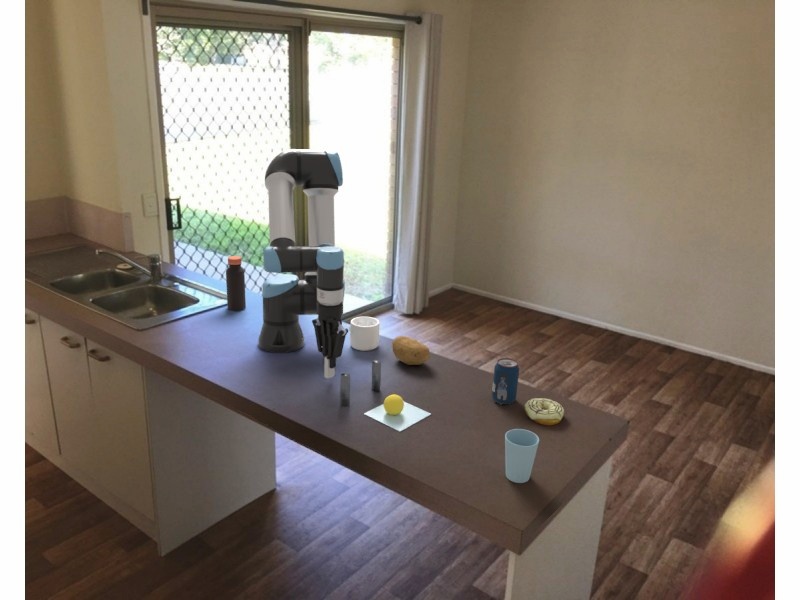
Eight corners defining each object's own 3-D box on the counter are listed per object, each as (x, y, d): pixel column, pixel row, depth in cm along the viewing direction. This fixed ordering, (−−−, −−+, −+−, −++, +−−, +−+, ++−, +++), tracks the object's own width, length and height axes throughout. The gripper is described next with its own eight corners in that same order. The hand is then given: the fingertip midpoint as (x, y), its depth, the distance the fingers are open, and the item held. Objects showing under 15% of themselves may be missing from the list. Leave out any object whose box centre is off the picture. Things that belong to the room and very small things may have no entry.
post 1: (338, 404, 181) (338, 375, 178) (344, 401, 183) (345, 372, 180) (344, 407, 180) (345, 378, 177) (351, 404, 182) (352, 375, 179)
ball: (397, 415, 173) (384, 419, 177) (411, 408, 177) (398, 413, 180) (389, 395, 173) (376, 400, 177) (403, 389, 177) (390, 394, 181)
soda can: (511, 394, 192) (515, 356, 188) (519, 405, 185) (523, 366, 181) (488, 395, 191) (492, 357, 187) (495, 406, 184) (499, 367, 180)
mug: (364, 336, 229) (365, 312, 226) (388, 344, 224) (389, 319, 221) (342, 346, 220) (343, 321, 217) (366, 354, 214) (367, 329, 211)
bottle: (236, 312, 246) (234, 261, 239) (223, 308, 249) (221, 257, 243) (249, 307, 251) (247, 257, 245) (237, 303, 255) (234, 254, 248)
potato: (416, 374, 201) (417, 351, 199) (384, 360, 211) (385, 337, 208) (437, 366, 208) (438, 343, 206) (405, 352, 217) (406, 330, 215)
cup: (535, 487, 148) (540, 447, 145) (501, 484, 149) (505, 444, 146) (533, 469, 155) (537, 430, 152) (500, 465, 156) (504, 427, 153)
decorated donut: (528, 426, 175) (529, 413, 174) (521, 407, 185) (522, 395, 184) (566, 427, 175) (568, 415, 174) (557, 408, 185) (559, 396, 184)
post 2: (369, 389, 191) (370, 361, 188) (375, 387, 192) (376, 359, 189) (376, 392, 189) (377, 364, 186) (382, 389, 191) (383, 361, 188)
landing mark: (363, 414, 177) (363, 413, 177) (395, 398, 186) (395, 397, 186) (399, 431, 169) (400, 431, 169) (431, 414, 178) (431, 413, 178)
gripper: (304, 298, 187) (305, 373, 195) (336, 310, 179) (335, 387, 187) (324, 293, 192) (323, 366, 200) (355, 304, 184) (354, 379, 192)
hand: (329, 376), depth 193 cm, fingers closed
